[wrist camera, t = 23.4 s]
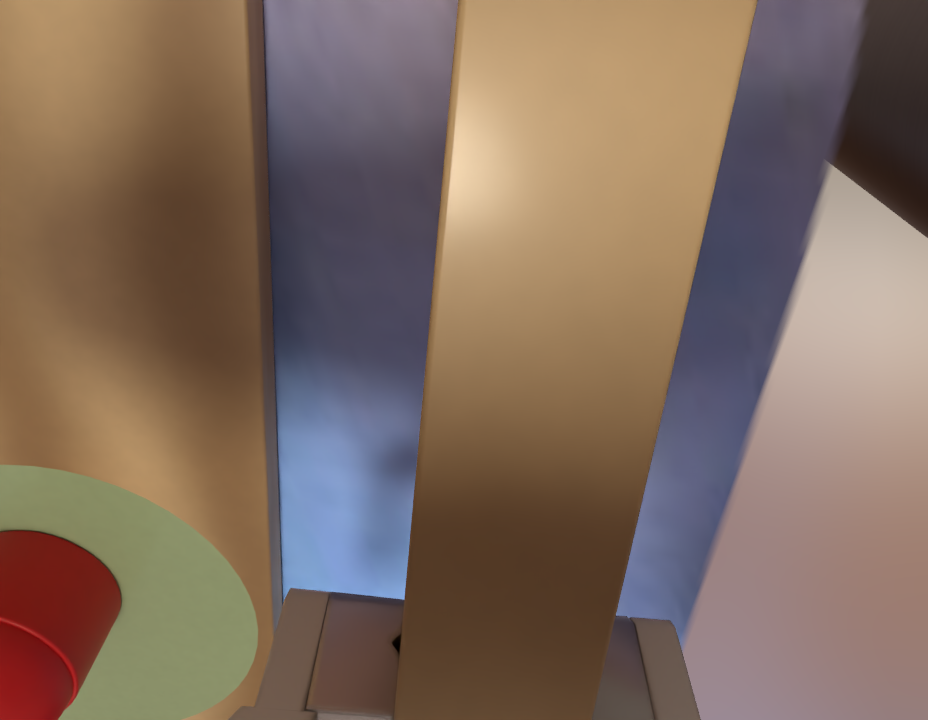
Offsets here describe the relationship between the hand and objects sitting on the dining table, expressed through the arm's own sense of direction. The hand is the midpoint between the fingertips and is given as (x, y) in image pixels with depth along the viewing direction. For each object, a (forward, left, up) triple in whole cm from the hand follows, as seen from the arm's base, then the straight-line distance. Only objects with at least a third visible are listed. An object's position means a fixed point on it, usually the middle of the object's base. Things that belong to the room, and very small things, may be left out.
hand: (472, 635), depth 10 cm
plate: (+11, +11, -10) cm, 18 cm away
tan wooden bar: (0, 0, -1) cm, 1 cm away
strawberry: (+11, +10, -9) cm, 17 cm away
